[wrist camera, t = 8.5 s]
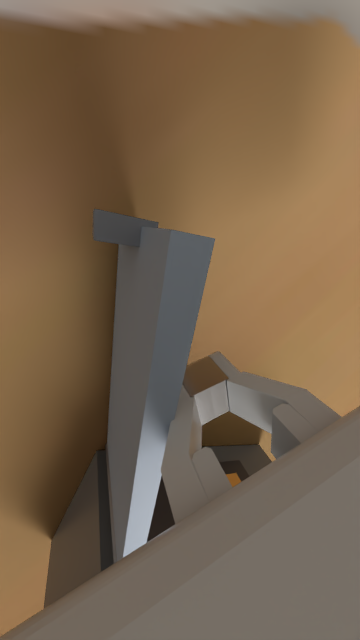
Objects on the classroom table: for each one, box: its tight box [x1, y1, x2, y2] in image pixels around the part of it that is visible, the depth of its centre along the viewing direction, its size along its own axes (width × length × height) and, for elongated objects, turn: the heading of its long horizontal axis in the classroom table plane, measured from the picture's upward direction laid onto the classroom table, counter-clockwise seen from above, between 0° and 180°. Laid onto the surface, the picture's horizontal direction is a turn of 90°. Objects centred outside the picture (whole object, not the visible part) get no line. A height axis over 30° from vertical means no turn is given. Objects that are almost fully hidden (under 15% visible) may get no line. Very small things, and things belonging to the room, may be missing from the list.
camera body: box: [44, 445, 272, 608], centre depth 20 cm, size 24×12×9 cm, turn 60°
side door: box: [93, 209, 215, 563], centre depth 10 cm, size 18×2×8 cm, turn 169°
